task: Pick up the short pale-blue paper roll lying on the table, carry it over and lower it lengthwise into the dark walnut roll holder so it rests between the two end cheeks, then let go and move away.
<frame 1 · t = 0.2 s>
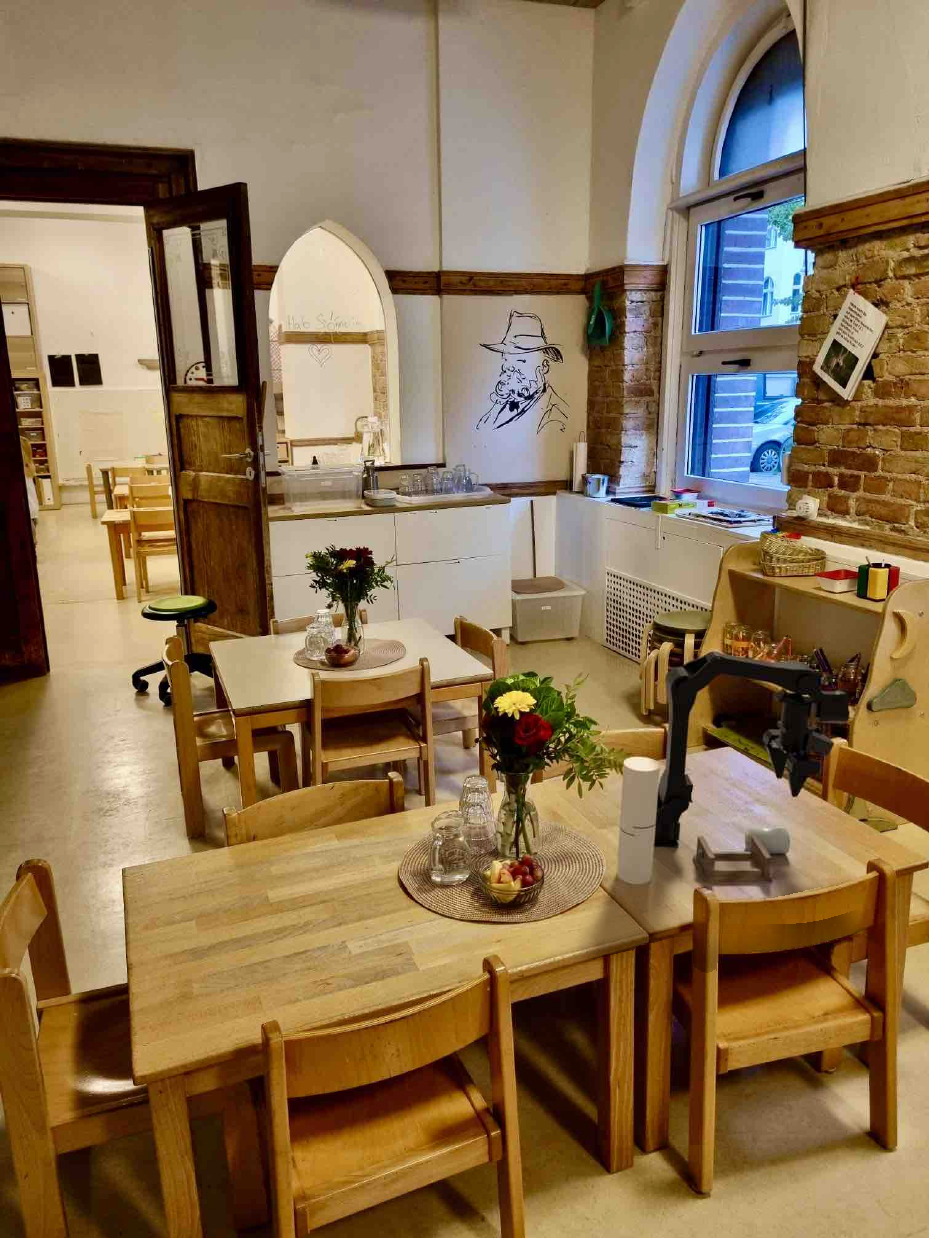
hand: (786, 787, 201), 13 cm above the table, tool pointing down, fingers open, 9 cm apart
roll: (765, 851, 201), on the table
holder: (731, 870, 193), on the table
cylindrical container: (634, 875, 191), on the table
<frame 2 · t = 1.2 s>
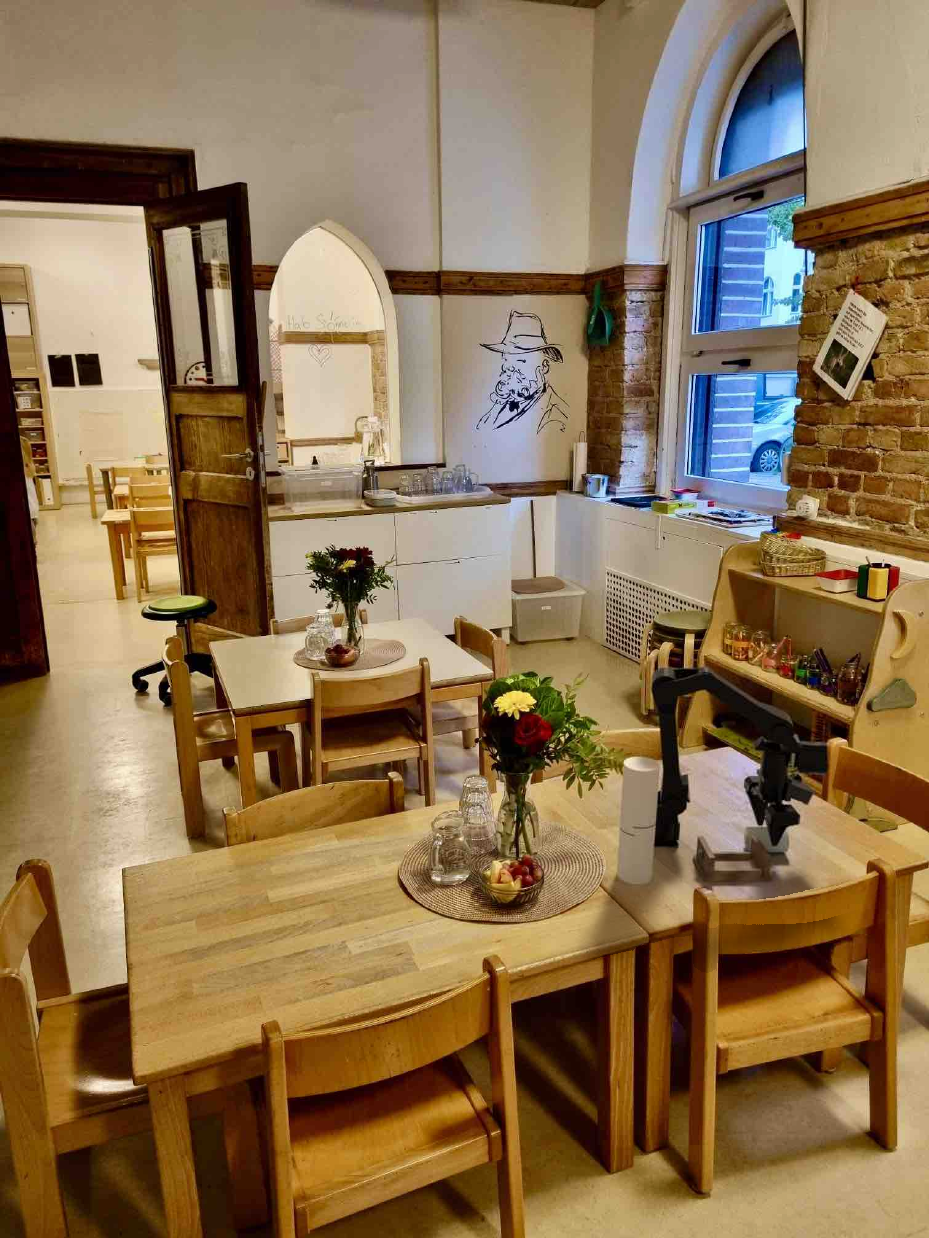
hand: (767, 835, 200), 4 cm above the table, tool pointing down, fingers open, 9 cm apart
roll: (765, 851, 201), on the table, tilted 9°
everything else where it was.
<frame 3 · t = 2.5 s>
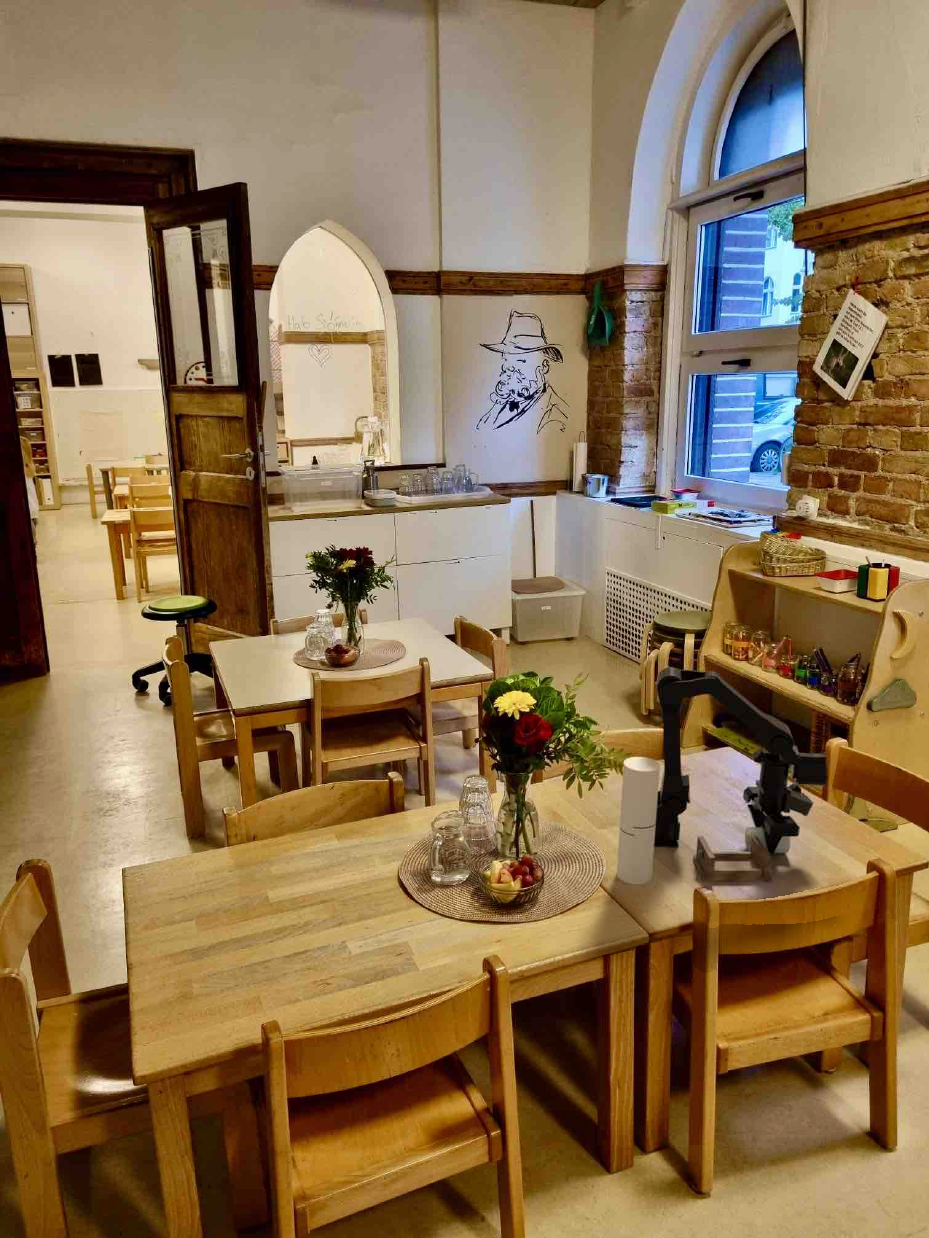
hand: (766, 846, 201), 1 cm above the table, tool pointing down, fingers closed on roll, 5 cm apart
roll: (765, 851, 201), on the table, touching gripper
everything else where it was.
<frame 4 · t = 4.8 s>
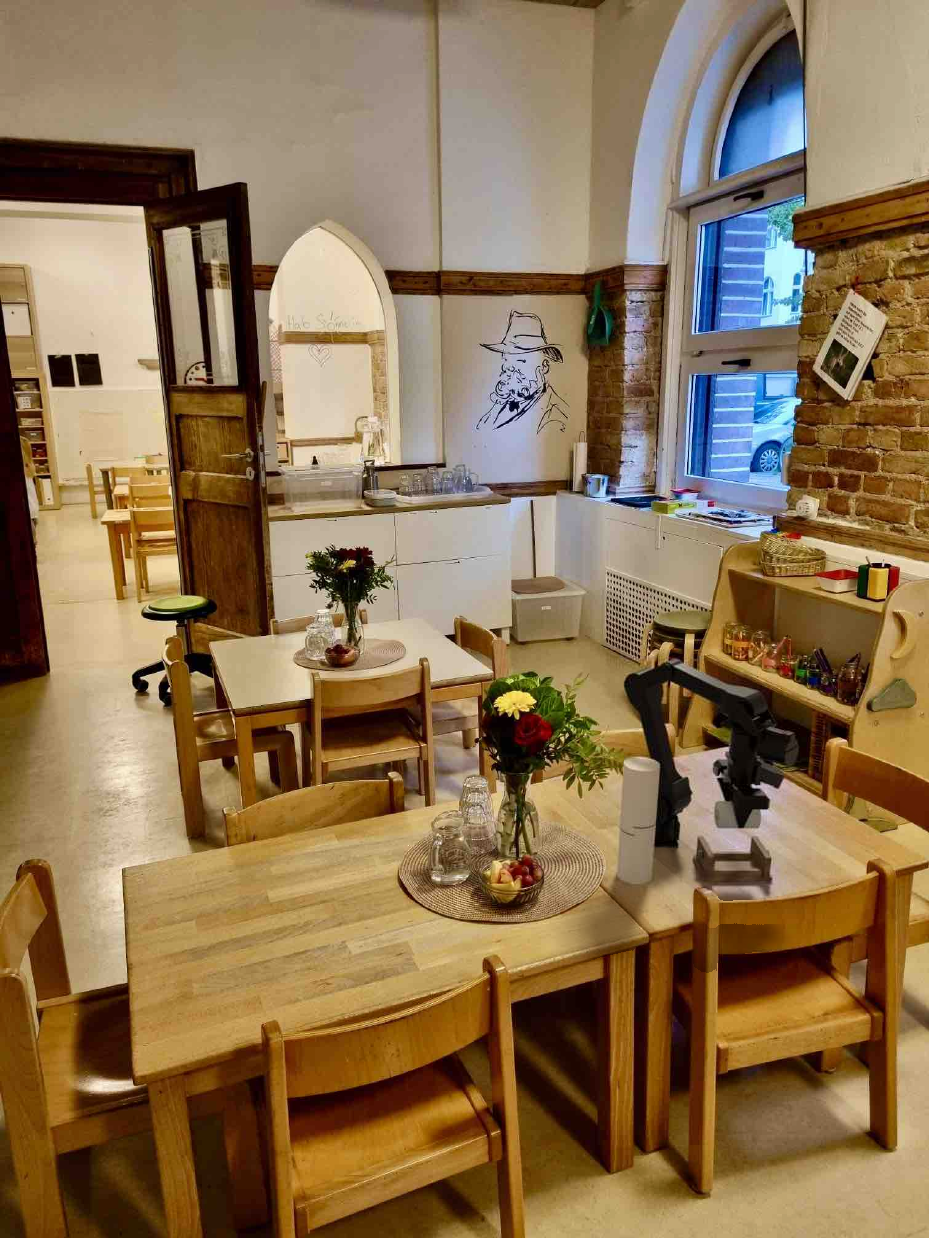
hand: (736, 821, 190), 11 cm above the table, tool pointing down, fingers closed on roll, 5 cm apart
roll: (736, 826, 191), point 10 cm above the table, touching gripper
everything else where it was.
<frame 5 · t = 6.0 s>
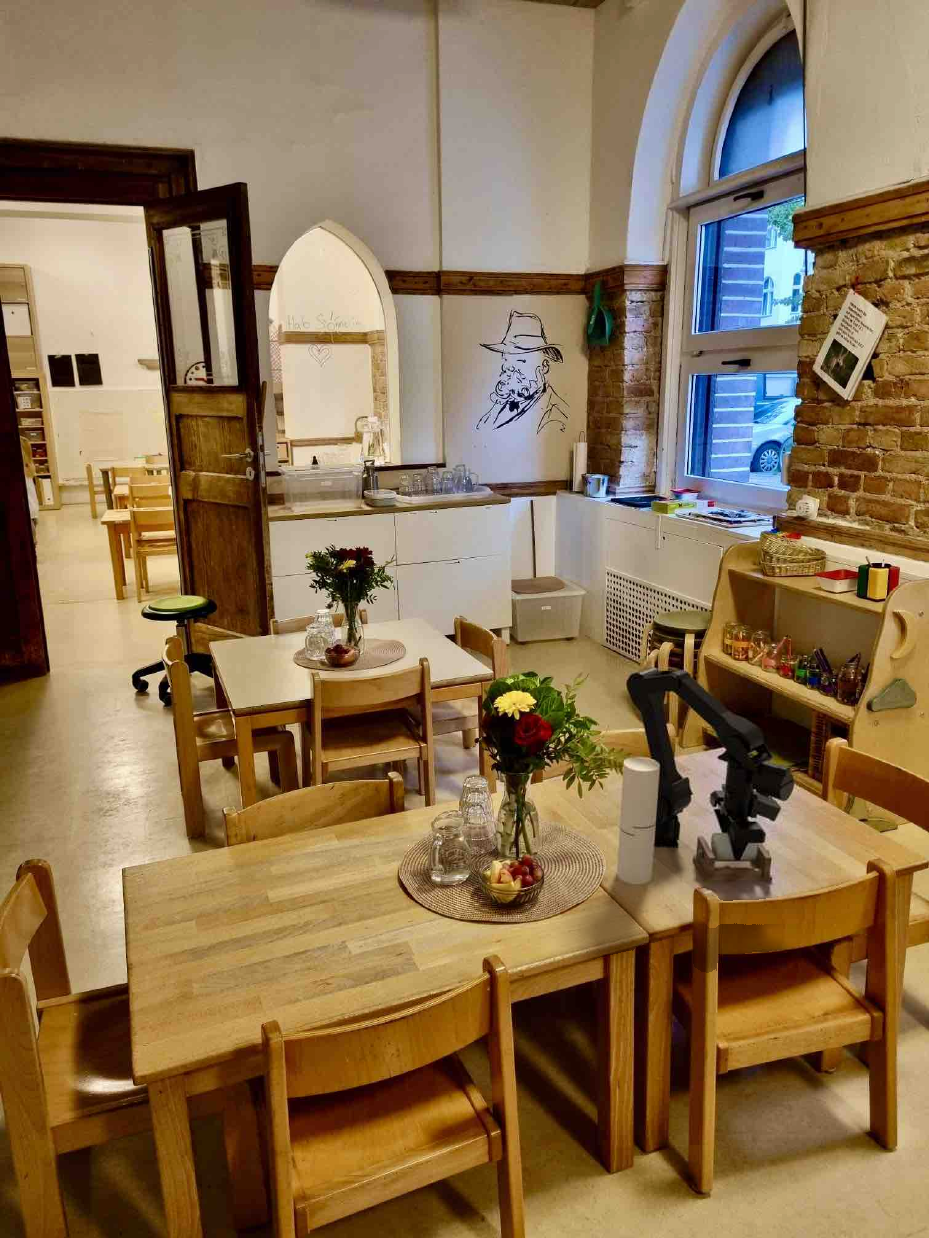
hand: (732, 852, 192), 4 cm above the table, tool pointing down, fingers closed on roll, 5 cm apart
roll: (732, 858, 192), point 3 cm above the table, touching gripper
everything else where it was.
when the fingers open (3 cm above the table, at t = 7.0 s): roll drops 1 cm, resting on holder.
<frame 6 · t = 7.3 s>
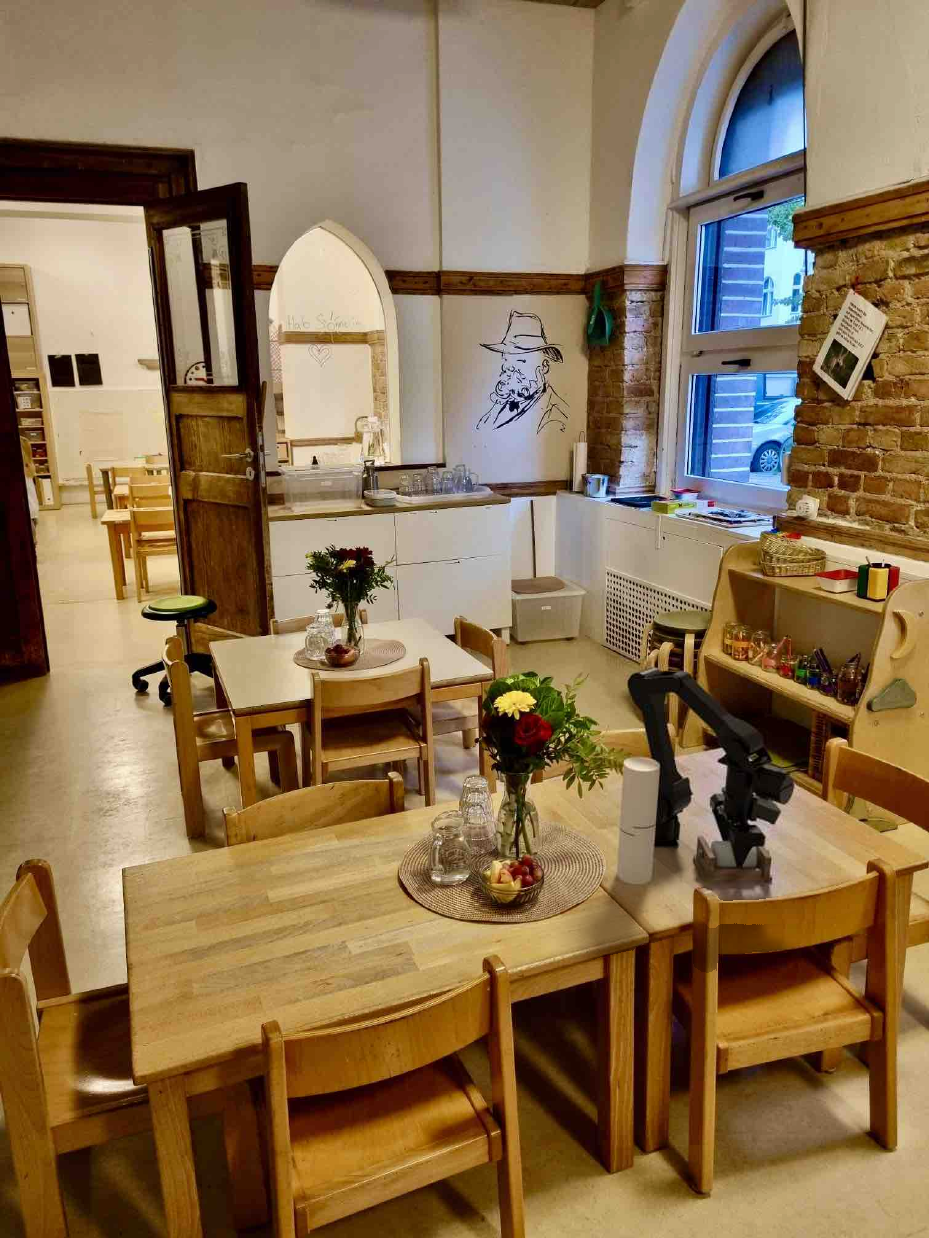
hand: (732, 856, 192), 3 cm above the table, tool pointing down, fingers open, 8 cm apart
roll: (732, 865, 193), point 1 cm above the table, touching holder
everything else where it was.
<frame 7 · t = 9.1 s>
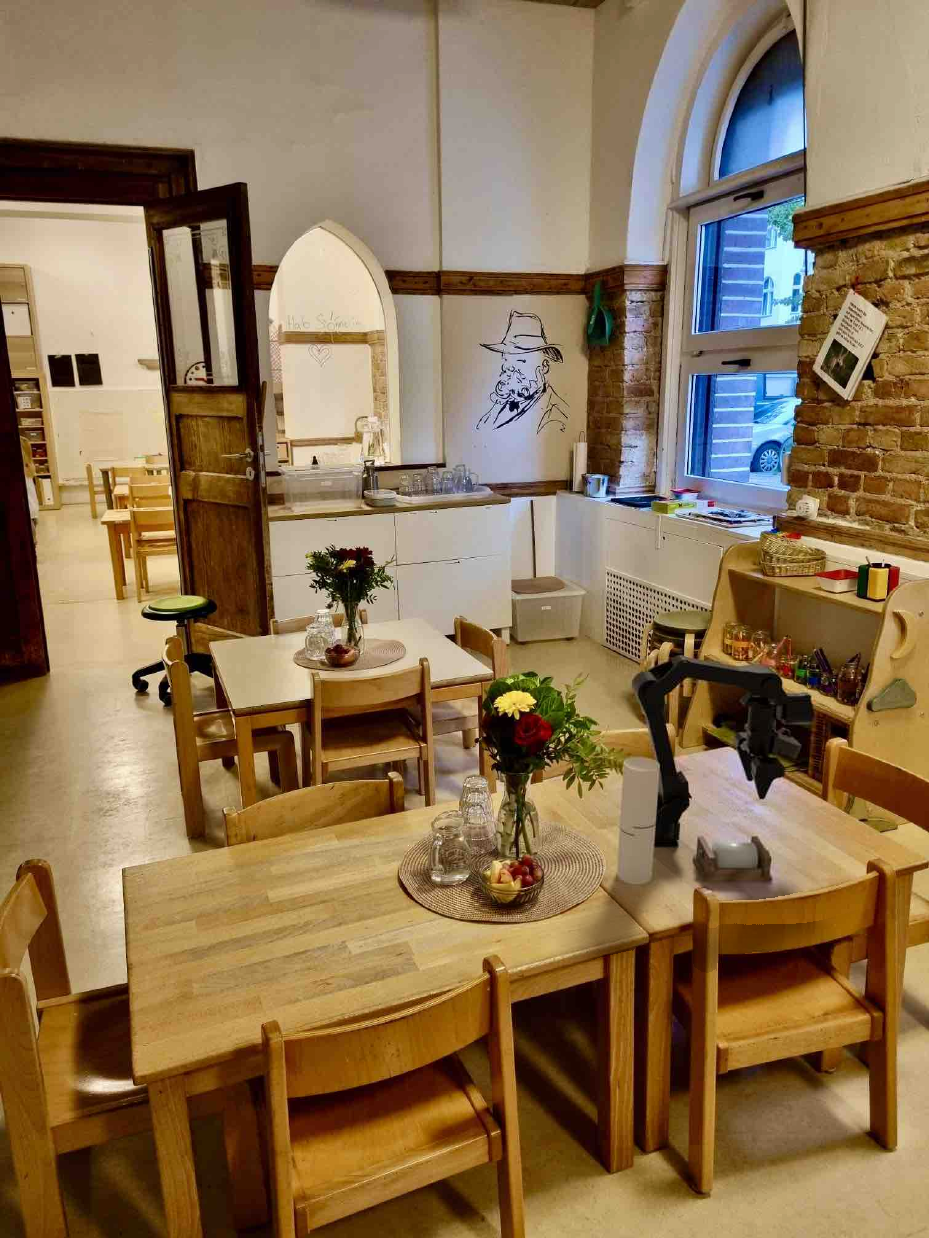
hand: (755, 789, 203), 12 cm above the table, tool pointing down, fingers open, 9 cm apart
roll: (732, 865, 193), point 1 cm above the table, tilted 16°, touching holder
everything else where it was.
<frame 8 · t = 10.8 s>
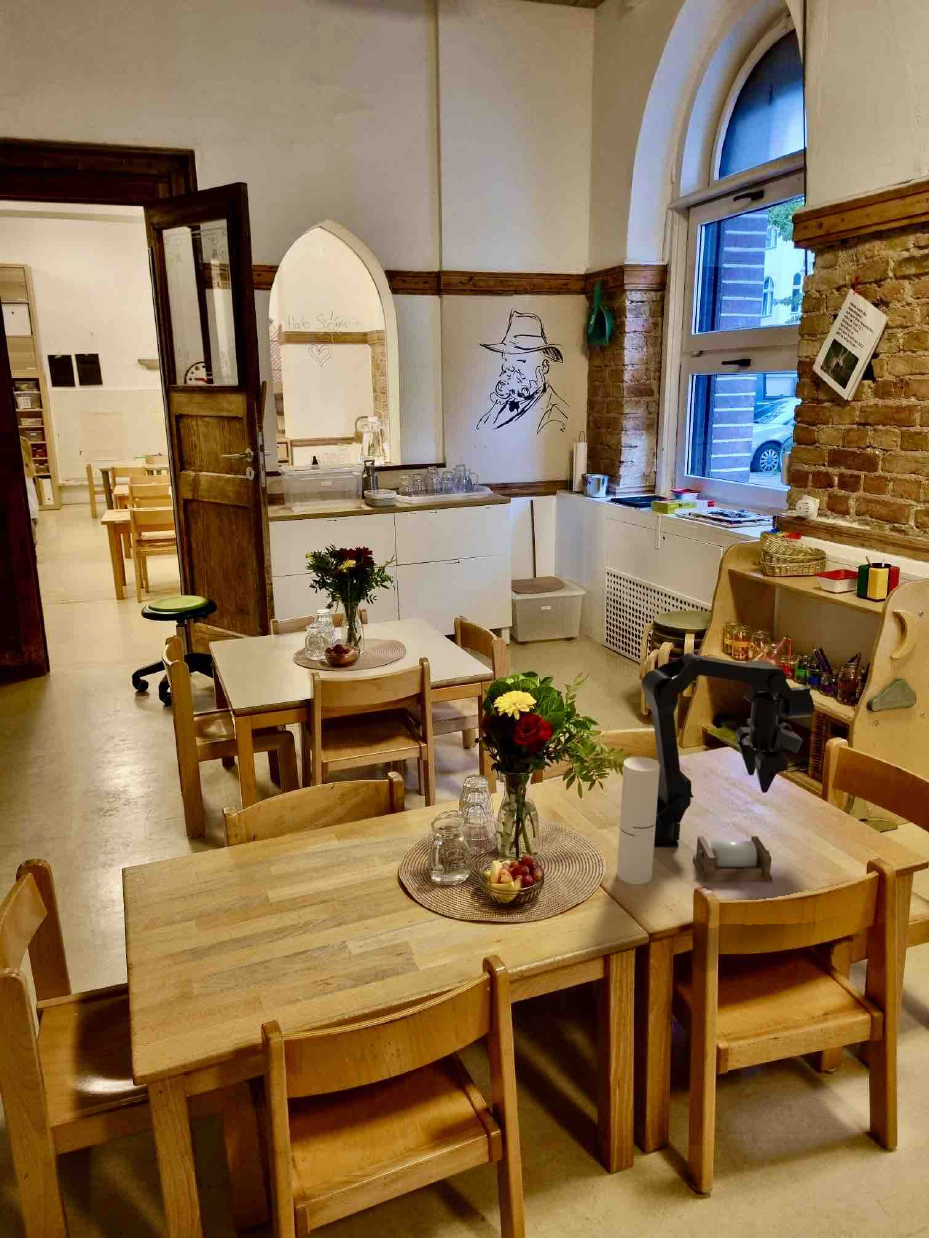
hand: (757, 783, 207), 12 cm above the table, tool pointing down, fingers open, 9 cm apart
roll: (732, 865, 193), point 1 cm above the table, touching holder
everything else where it was.
at the end: roll 0.0 cm off-centre on the holder, point 1.0 cm above the holder's base; the gripper is holding nothing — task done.
